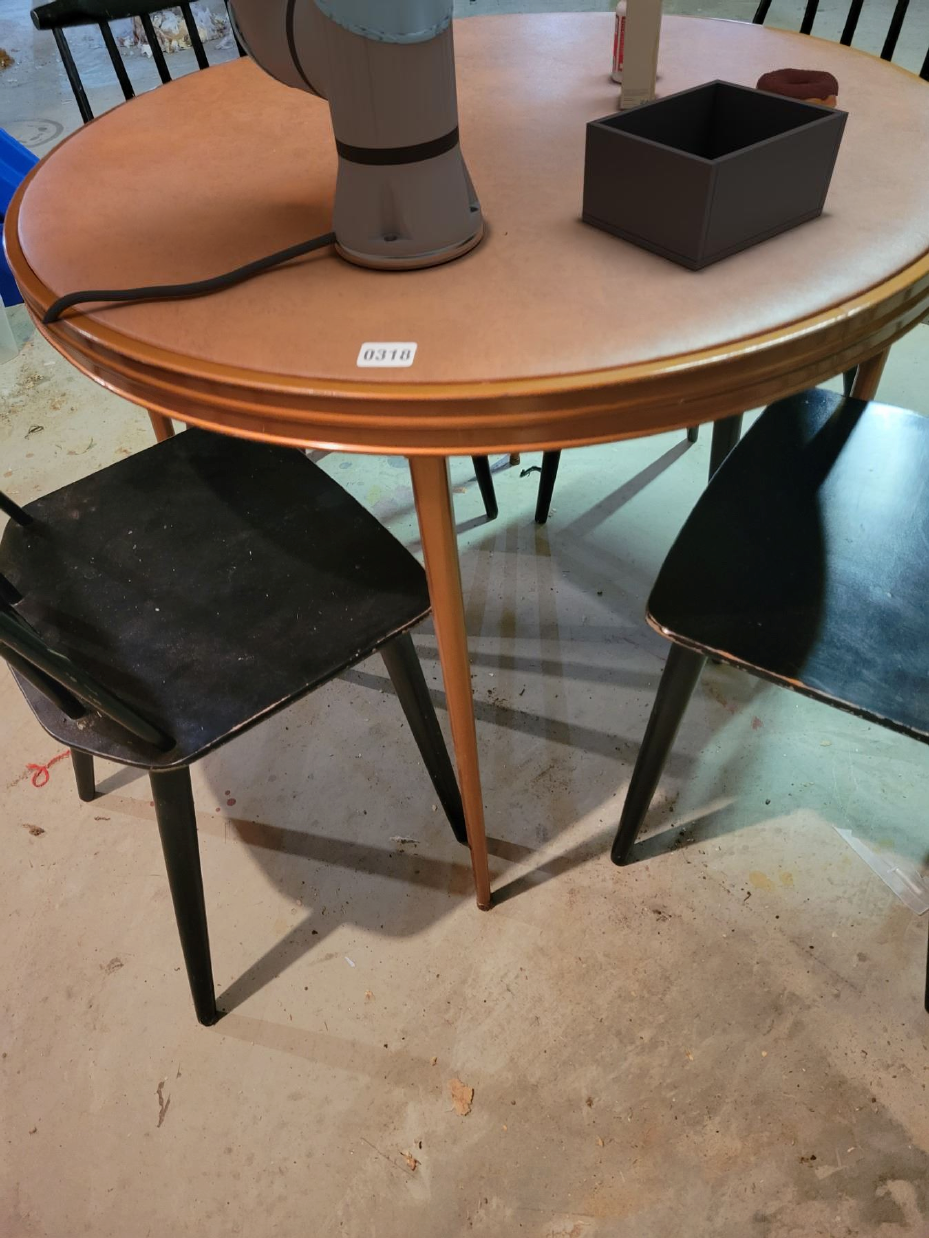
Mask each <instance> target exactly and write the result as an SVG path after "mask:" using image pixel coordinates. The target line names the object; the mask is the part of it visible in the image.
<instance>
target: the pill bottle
mask: <svg viewBox="0 0 929 1238" xmlns="http://www.w3.org/2000/svg"><path fill="white" fill-rule="evenodd" d="M626 2H627V0H620V1H619V2H618V4H617V5H616V8H615V19H614V20H615V21H614V34H613V50H612V68H611V77H612V79H613V80H614V81H615V82H617V83H620V84H622V67H623V51H624V34H625V18H626ZM663 6H664V5H663ZM663 6H662V9H664V7H663ZM662 19H663V16H662V17H661V21H662ZM661 29H662V28H661ZM661 29H660V31H661Z"/></svg>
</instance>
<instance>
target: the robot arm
mask: <svg viewBox="0 0 929 1238" xmlns="http://www.w3.org/2000/svg"><path fill="white" fill-rule="evenodd" d="M454 8H455V7H454V0H227V11H228V15H229V20H230V23H231V27H232V28H233V31H234V34H235V36H236V38H237V40H238V42H239V44H240V46H241V48H243V51H245V53H246V54H247V56H248V57H249V58H250V59H251V61H252V62H253V63H254V64H255V65H257V67H259V69H261V71H263V72H264V73H265V74H266V75H267V76H269V77H271V78H273V80H275V81H277V82H279V83H280V84H282V85H285V86H286V87H289V88H291V89H297V90H299V91H302V92H305V93H307V94H310V95H312V96H314V97H316V98H318V99H322V100H325V101H326V102H327V103H328V107H329V108H328V109H329V113H330V119H331V126H332V131H333V135H334V142H335V148H336V154H337V163H338V164H337V170H336V171H337V172H336V173H337V174H336V182H335V191H334V199H333V210H332V218H331V228H332V230H331V232H328V233H326V234H323V235H322V234H321V235H320V236H317V237H314V238H312V239H309V240H307V241H306V240H305V241H304V242H301V243H298V244H295V245H292V246H291V247H288V248H285V249H283V250H280V251H278V252H275V253H272V254H270V255H267V256H264V257H262V258H260V259H257V260H255V261H252V262H249V263H247V264H246V265H243V266H241V267H238V268H237V269H234V270H232V271H229V272H227V273H226V272H225V273H224V274H222V275H218V276H215V277H212V278H208V279H204V280H200V281H196V282H195V281H194V282H190V283H183V284H182V283H181V284H172V285H171V284H170V285H154V286H153V285H152V286H142V287H138V288H137V287H136V288H129V289H127V288H126V289H96V290H95V289H93V290H80V291H75V292H71V293H68V294H65V295H63V296H60V297H59V298H58V299H57V300H55V301H54V302H52V304H51V305H50V306H49V307H48V308H47V310H46V312H45V314H44V316H43V318H42V323H41V324H43V325H50V324H53V323H54V322H56V321H57V320H58V318H59V317H60V315H62V313H64V312H65V311H66V310H67V309H69V308H71V307H73V306H76V305H80V304H85V303H96V302H99V303H100V302H107V303H108V302H131V301H138V300H146V299H154V298H156V299H157V298H172V297H184V296H193V295H199V294H203V293H207V292H211V291H212V292H213V291H216V290H219V289H222V288H224V287H227V286H230V285H232V284H235V283H237V282H239V281H242V280H244V279H246V278H248V277H251V276H253V275H255V274H257V273H260V272H262V271H265V270H268V269H270V268H273V267H276V266H278V265H280V264H283V263H285V262H288V261H291V260H293V259H296V258H298V257H300V256H301V257H302V256H303V255H306V254H309V253H311V252H314V251H317V250H320V249H322V248H325V247H328V246H330V245H333V244H334V249H335V250H336V252H337V253H338V254H339V255H340V256H341V257H342V258H343V259H344V260H345V261H348V262H350V263H353V264H355V265H358V266H360V267H361V266H362V267H365V268H370V269H377V270H409V269H410V270H411V269H417V268H418V269H420V268H426V267H430V266H431V267H432V266H434V265H435V266H436V265H438V264H442V263H445V262H448V261H451V260H454V259H456V258H458V257H460V256H462V255H464V254H466V253H467V252H468V251H470V250H472V249H473V248H474V247H475V246H477V244H479V242H480V241H481V240H482V237H483V234H484V219H483V218H484V217H483V213H482V206H481V203H480V200H479V198H478V195H477V194H478V193H477V192H476V189H475V186H474V183H473V180H472V178H471V175H470V173H469V169H468V167H467V166H468V165H467V164H466V161H465V158H464V155H463V152H462V150H461V149H462V148H461V141H460V126H459V125H460V124H459V108H458V107H459V106H458V92H457V76H456V75H457V74H456V59H455V58H456V57H455V42H454V23H453V14H454Z"/></svg>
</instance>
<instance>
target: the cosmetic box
mask: <svg viewBox="0 0 929 1238" xmlns="http://www.w3.org/2000/svg"><path fill="white" fill-rule="evenodd" d="M663 3H664V0H627V2H626V18H625V34H624V51H623V67H622V83H620V84H621V86H620V103H619V109H620V110H626V109H629V108H632V107H635V106H638V105H641V104H644V103H647V102H650V101H653V100H655V96H656V84H657V83H656V82H657V75H658V63H659V51H660V50H659V49H660V41H661V30H660V29H662V20H661V17H662V18H663V8H662V6H664V5H663Z"/></svg>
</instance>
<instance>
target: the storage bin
mask: <svg viewBox="0 0 929 1238" xmlns="http://www.w3.org/2000/svg"><path fill="white" fill-rule="evenodd" d="M849 113H850V112H849V111H845V110H842V109H838V108H830V107H826V106H822V105H818V104H814V103H810V102H806V101H802V100H798V99H794V98H790V97H786V96H782V95H778V94H774V93H770V92H766V91H762V90H758V89H756V88H753V87H750V86H746V85H742V84H738V83H735V82H730V81H727V80H722V79H719V78H716V79H713V80H711V81H708V82H705V83H702V84H698V85H696V86H693V87H690V88H687V89H683V90H681V91H678V92H675V93H671V94H668V95H666V96H662V97H660V98H657V99H654V100H653V101H650V102H647V103H644V104H641V105H638V106H635V107H632V108H629V109H622V110H620V111H618V112H615V113H612V114H607V115H606V116H603V117H599V118H596V119H593V120H590V121H588V122H586V123H585V144H584V145H585V146H584V165H583V166H584V167H583V185H582V186H583V187H582V210H581V221H582V222H585V223H587V224H589V225H591V226H593V227H596V228H597V229H600V230H603V231H605V232H607V233H609V234H611V235H614V236H616V237H618V238H621V239H623V240H625V241H627V242H630V243H632V244H634V245H636V246H639V247H641V248H642V249H645V250H647V251H649V252H652V253H653V254H656V255H659V256H660V257H662V258H663V257H664V258H665V259H668V260H669V261H672V262H674V263H676V264H678V265H681V266H683V267H686V268H688V269H690V270H693V271H695V272H696V271H698V270H700V269H703V268H704V267H707V266H708V265H712V264H714V263H715V262H718V261H720V260H722V259H725V258H728V257H730V256H731V255H734V254H736V253H739V252H741V251H743V250H746V249H747V248H749V247H751V246H754V245H756V244H758V243H760V242H764V241H766V240H767V239H769V238H772V237H774V236H776V235H779V234H781V233H783V232H785V231H787V230H790V229H792V228H794V227H796V226H799V225H801V224H803V223H806V222H808V221H810V220H812V219H815V218H817V217H819V216H821V215H822V214H823V211H824V206H825V203H826V200H827V197H828V193H829V192H828V191H829V189H830V185H831V181H832V178H833V173H834V170H835V167H836V162H837V158H838V155H839V152H840V147H841V144H842V140H843V137H844V133H845V129H846V125H847V122H848V118H849Z"/></svg>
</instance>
